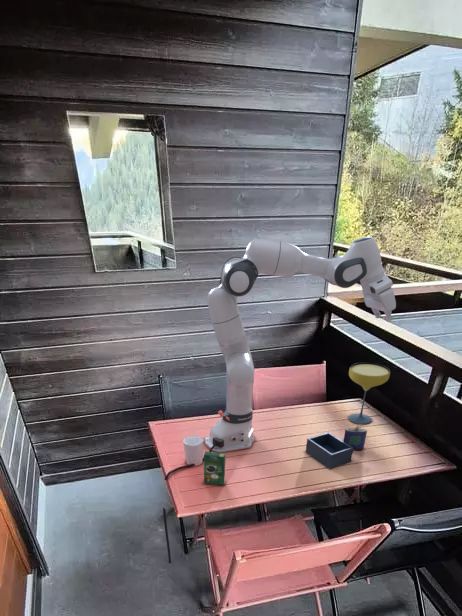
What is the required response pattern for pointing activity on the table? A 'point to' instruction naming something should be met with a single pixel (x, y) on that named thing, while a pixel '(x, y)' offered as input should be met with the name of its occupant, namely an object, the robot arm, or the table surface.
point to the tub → (329, 450)
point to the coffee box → (214, 468)
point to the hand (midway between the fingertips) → (383, 319)
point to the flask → (355, 438)
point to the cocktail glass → (367, 383)
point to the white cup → (193, 450)
